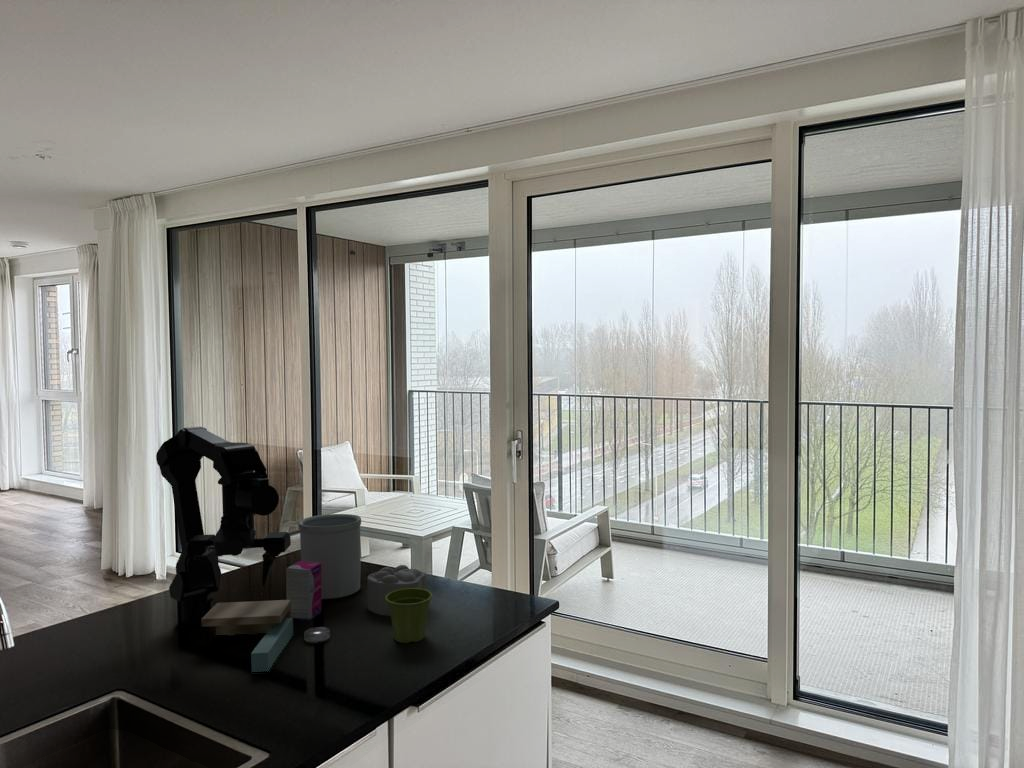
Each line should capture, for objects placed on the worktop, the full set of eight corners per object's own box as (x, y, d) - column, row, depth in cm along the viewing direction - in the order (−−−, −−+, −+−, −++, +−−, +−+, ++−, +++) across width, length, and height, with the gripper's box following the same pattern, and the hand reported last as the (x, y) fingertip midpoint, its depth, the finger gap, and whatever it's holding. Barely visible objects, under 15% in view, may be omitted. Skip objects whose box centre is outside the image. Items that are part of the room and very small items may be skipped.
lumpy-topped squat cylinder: (414, 617, 152) (414, 578, 152) (359, 614, 155) (358, 575, 154) (430, 601, 162) (429, 564, 162) (378, 598, 165) (377, 561, 164)
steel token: (304, 645, 138) (304, 637, 138) (303, 636, 143) (304, 628, 143) (330, 643, 139) (330, 635, 139) (329, 633, 144) (329, 625, 144)
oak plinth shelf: (202, 651, 135) (201, 619, 135) (218, 633, 144) (217, 602, 144) (281, 648, 137) (280, 615, 136) (291, 630, 146) (290, 599, 145)
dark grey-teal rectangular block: (251, 675, 126) (251, 653, 126) (278, 637, 143) (277, 618, 143) (268, 674, 126) (267, 652, 126) (293, 636, 143) (292, 617, 143)
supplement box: (310, 621, 150) (309, 569, 150) (285, 620, 151) (284, 568, 151) (323, 612, 156) (321, 561, 155) (299, 610, 157) (297, 560, 157)
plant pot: (441, 632, 143) (440, 591, 143) (416, 650, 134) (415, 606, 134) (403, 626, 147) (402, 585, 147) (376, 642, 138) (375, 599, 138)
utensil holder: (306, 582, 177) (304, 514, 177) (365, 579, 179) (363, 511, 178) (294, 602, 163) (292, 528, 162) (359, 598, 164) (357, 525, 164)
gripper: (172, 519, 128) (175, 603, 129) (276, 516, 130) (278, 598, 130) (195, 506, 139) (197, 583, 140) (290, 503, 141) (292, 579, 141)
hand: (240, 586), depth 137 cm, fingers open, 9 cm apart
